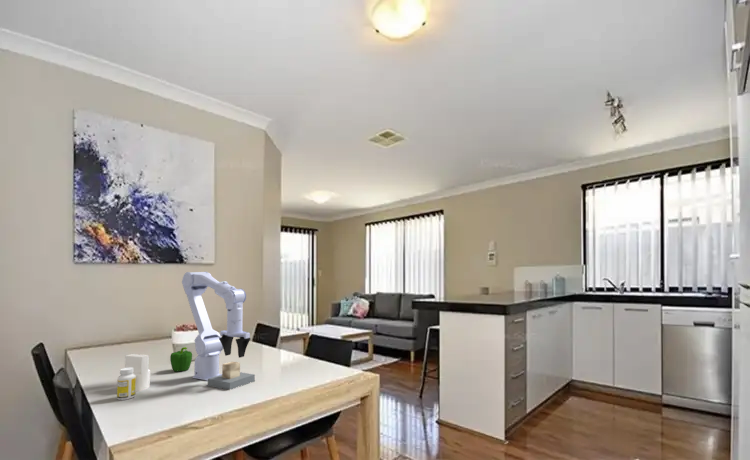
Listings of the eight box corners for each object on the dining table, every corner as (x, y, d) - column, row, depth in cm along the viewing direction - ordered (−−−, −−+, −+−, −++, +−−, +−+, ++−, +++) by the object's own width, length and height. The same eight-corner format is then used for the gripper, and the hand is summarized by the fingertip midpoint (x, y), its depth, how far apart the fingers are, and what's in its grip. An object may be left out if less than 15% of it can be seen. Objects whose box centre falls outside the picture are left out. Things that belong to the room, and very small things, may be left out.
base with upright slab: (115, 390, 146) (116, 357, 147) (137, 383, 155) (138, 352, 156) (133, 393, 143) (134, 358, 144) (155, 385, 152) (156, 353, 153)
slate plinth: (207, 385, 151) (207, 378, 151) (232, 377, 161) (233, 371, 161) (229, 389, 145) (229, 382, 145) (254, 381, 155) (254, 374, 155)
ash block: (222, 377, 152) (222, 364, 153) (231, 374, 156) (231, 361, 156) (230, 378, 150) (230, 365, 150) (239, 375, 154) (240, 362, 154)
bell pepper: (166, 371, 173) (167, 347, 174) (186, 367, 180) (186, 344, 181) (175, 374, 168) (175, 349, 169) (194, 370, 174) (195, 346, 175)
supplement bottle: (131, 394, 142) (132, 365, 143) (137, 397, 139) (138, 368, 139) (114, 398, 138) (115, 369, 139) (120, 401, 134) (121, 371, 135)
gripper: (213, 320, 156) (213, 356, 155) (239, 322, 149) (239, 360, 148) (228, 318, 163) (228, 352, 161) (254, 320, 155) (253, 356, 154)
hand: (234, 356), depth 155 cm, fingers open, 7 cm apart
